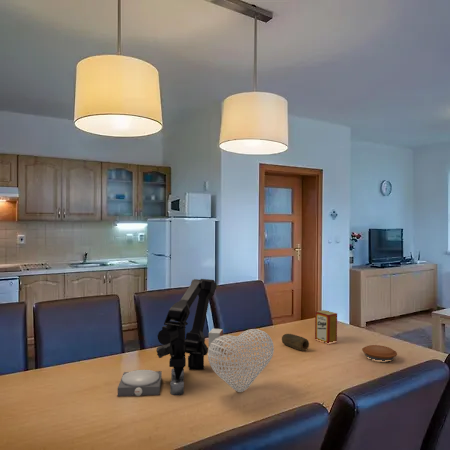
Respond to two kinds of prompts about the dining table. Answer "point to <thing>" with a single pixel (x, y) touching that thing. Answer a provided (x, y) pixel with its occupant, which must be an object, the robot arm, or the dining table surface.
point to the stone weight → (295, 341)
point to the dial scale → (140, 383)
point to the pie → (379, 352)
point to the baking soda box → (326, 326)
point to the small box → (213, 335)
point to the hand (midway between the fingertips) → (177, 376)
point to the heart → (233, 340)
